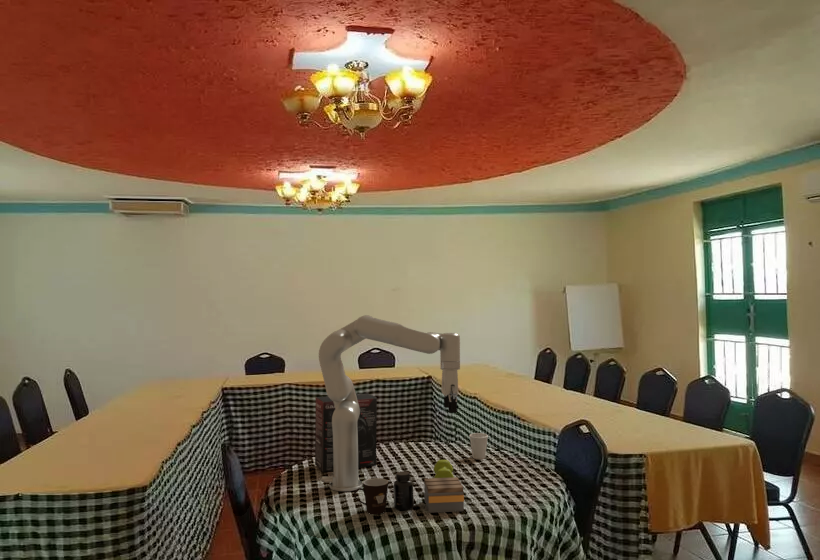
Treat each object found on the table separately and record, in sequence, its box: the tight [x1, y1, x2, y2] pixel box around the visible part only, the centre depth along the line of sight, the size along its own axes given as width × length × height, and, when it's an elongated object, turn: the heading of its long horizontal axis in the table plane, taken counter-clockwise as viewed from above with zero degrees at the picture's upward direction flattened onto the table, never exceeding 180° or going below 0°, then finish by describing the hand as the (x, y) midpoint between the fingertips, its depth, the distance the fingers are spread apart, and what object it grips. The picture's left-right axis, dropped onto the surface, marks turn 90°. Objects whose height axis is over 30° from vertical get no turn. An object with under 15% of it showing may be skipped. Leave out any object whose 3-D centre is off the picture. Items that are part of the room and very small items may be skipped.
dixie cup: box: [469, 432, 489, 460], centre depth 284 cm, size 8×8×10 cm
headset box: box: [314, 387, 378, 473], centre depth 274 cm, size 24×13×33 cm, turn 115°
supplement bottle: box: [393, 470, 415, 512], centre depth 221 cm, size 7×7×12 cm
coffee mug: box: [353, 477, 389, 515], centre depth 218 cm, size 12×9×10 cm
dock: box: [423, 483, 465, 514], centre depth 222 cm, size 12×13×6 cm
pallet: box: [423, 476, 464, 493], centre depth 222 cm, size 12×12×2 cm
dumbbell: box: [433, 459, 455, 478], centre depth 249 cm, size 16×8×7 cm, turn 178°
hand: (450, 410), depth 244 cm, fingers open, 9 cm apart
